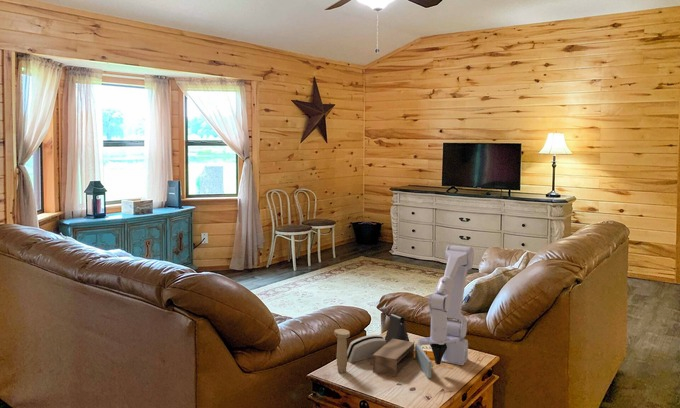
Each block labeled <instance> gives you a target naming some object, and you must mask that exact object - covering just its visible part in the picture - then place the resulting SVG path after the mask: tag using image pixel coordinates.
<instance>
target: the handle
mask: <svg viewBox="0 0 680 408" xmlns="http://www.w3.org/2000/svg"><path fill="white" fill-rule="evenodd" d="M333 330H334V331H333V333H334V336H335V337H336V339H337V347H336V368H337V372H338V373H341V374H343V373H346V372H347V367H348V359H347V351H348V345H347V344H348V341H347V339H348V338H350V337H351V333H350V331H349V330H348V329H344V328H336V329H333Z"/></svg>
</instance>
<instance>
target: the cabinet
mask: <svg viewBox="0 0 680 408" xmlns="http://www.w3.org/2000/svg"><path fill="white" fill-rule="evenodd" d="M414 359H415V342H414V341H410V340H409V341H404V340H399V339H391V340H390V341H389V342H388V343H387V344H385V345H384V346H383V347H382V348H380V349H379V350H378V351H377V352H376V353H374V354H373V357H372V373H374V374H375V373H376V374H381V375H385V376H390V377H394V378H396V377H397V376H398V375H400V373H401V372H402V371H403V370H404V369H405V368H407V366H408V365H410V363H411V362H412V361H413V360H414Z"/></svg>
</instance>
